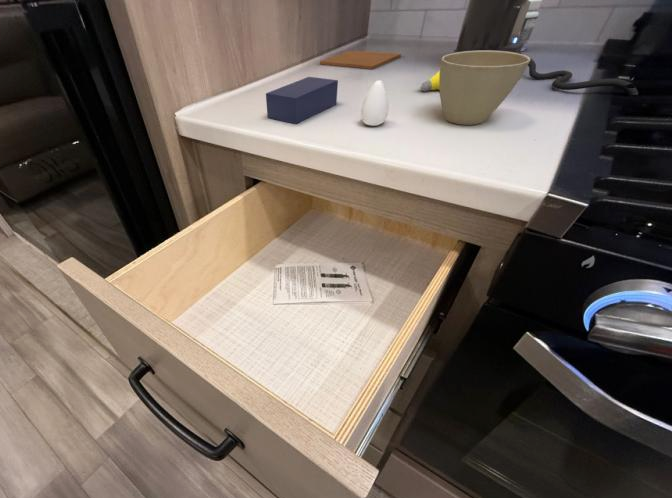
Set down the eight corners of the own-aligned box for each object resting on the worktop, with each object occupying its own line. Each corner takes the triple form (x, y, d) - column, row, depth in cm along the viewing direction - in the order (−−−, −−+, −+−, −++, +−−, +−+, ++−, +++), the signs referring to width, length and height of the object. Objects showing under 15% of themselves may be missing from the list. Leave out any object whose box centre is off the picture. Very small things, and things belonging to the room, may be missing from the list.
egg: (387, 120, 48) (394, 76, 44) (384, 129, 45) (392, 83, 41) (361, 119, 49) (366, 76, 45) (357, 128, 46) (362, 83, 42)
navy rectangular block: (308, 99, 58) (308, 76, 55) (336, 104, 55) (338, 80, 52) (267, 117, 52) (265, 93, 50) (295, 124, 49) (295, 98, 47)
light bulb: (459, 89, 55) (464, 68, 52) (423, 103, 56) (426, 84, 53) (451, 78, 57) (454, 57, 54) (416, 92, 58) (418, 72, 55)
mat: (400, 56, 76) (401, 53, 75) (372, 69, 70) (372, 65, 69) (349, 53, 83) (349, 50, 82) (319, 64, 77) (319, 61, 76)
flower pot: (514, 131, 42) (543, 64, 36) (431, 132, 43) (448, 68, 38) (493, 107, 48) (516, 47, 43) (423, 108, 50) (436, 51, 45)
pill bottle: (495, 50, 74) (512, 0, 68) (512, 47, 74) (531, -3, 68) (512, 53, 70) (531, 1, 64) (529, 50, 71) (550, -2, 65)
